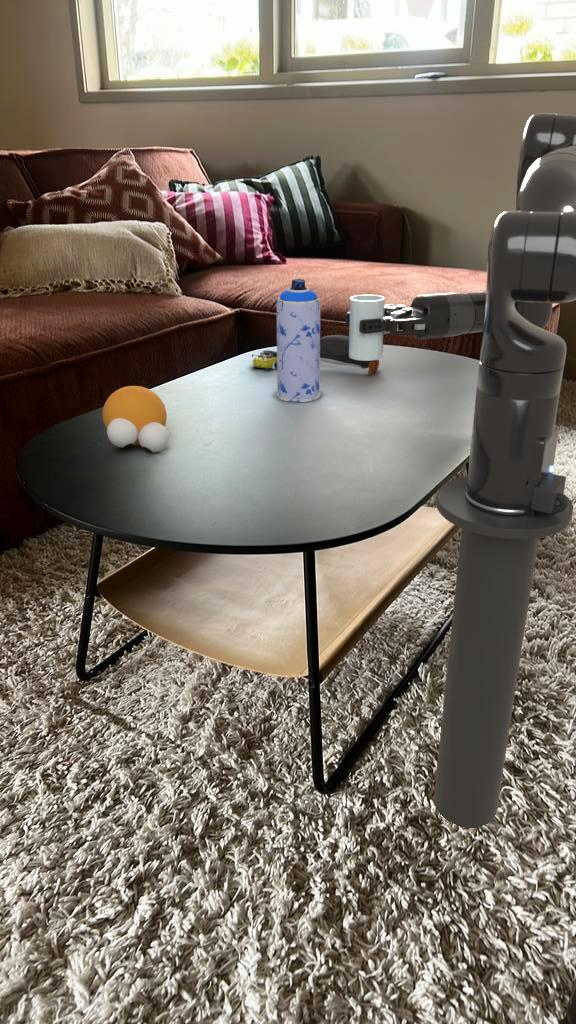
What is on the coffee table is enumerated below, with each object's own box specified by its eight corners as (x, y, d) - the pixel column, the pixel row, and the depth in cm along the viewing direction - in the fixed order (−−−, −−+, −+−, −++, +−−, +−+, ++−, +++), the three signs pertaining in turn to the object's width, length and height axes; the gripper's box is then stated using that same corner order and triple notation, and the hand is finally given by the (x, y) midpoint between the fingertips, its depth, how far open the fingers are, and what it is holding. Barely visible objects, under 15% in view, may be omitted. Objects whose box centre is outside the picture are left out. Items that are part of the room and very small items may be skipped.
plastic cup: (388, 358, 132) (391, 299, 127) (359, 362, 129) (361, 302, 125) (371, 350, 136) (373, 293, 132) (342, 354, 134) (343, 296, 130)
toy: (94, 448, 120) (109, 452, 106) (95, 386, 119) (109, 382, 105) (153, 449, 124) (175, 453, 110) (154, 389, 122) (176, 385, 109)
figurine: (379, 381, 153) (313, 358, 158) (390, 332, 148) (322, 311, 153) (364, 390, 147) (296, 367, 152) (374, 340, 142) (305, 318, 147)
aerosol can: (294, 386, 141) (293, 274, 132) (329, 393, 137) (331, 278, 128) (267, 396, 135) (265, 280, 127) (303, 404, 131) (303, 285, 122)
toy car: (292, 359, 158) (292, 345, 157) (271, 371, 150) (271, 356, 149) (270, 357, 160) (270, 343, 159) (248, 369, 152) (248, 354, 151)
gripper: (425, 286, 138) (338, 293, 134) (464, 301, 126) (370, 308, 122) (422, 328, 142) (337, 335, 137) (460, 346, 129) (368, 354, 125)
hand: (353, 322), depth 129 cm, fingers closed on plastic cup, 6 cm apart
